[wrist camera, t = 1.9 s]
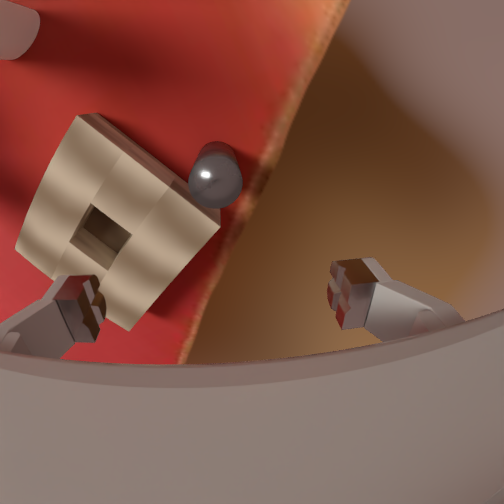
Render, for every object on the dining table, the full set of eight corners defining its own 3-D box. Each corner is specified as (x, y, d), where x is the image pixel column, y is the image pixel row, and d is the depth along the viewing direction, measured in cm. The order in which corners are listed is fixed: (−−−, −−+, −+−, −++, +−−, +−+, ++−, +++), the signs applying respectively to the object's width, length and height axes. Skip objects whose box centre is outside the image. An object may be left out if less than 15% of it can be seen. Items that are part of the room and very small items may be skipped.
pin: (218, 185, 31) (218, 218, 23) (190, 162, 30) (177, 186, 21) (243, 157, 30) (253, 180, 21) (214, 133, 29) (212, 145, 20)
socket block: (136, 306, 38) (128, 331, 33) (33, 231, 31) (14, 248, 26) (220, 209, 33) (220, 227, 28) (96, 112, 26) (76, 115, 21)
